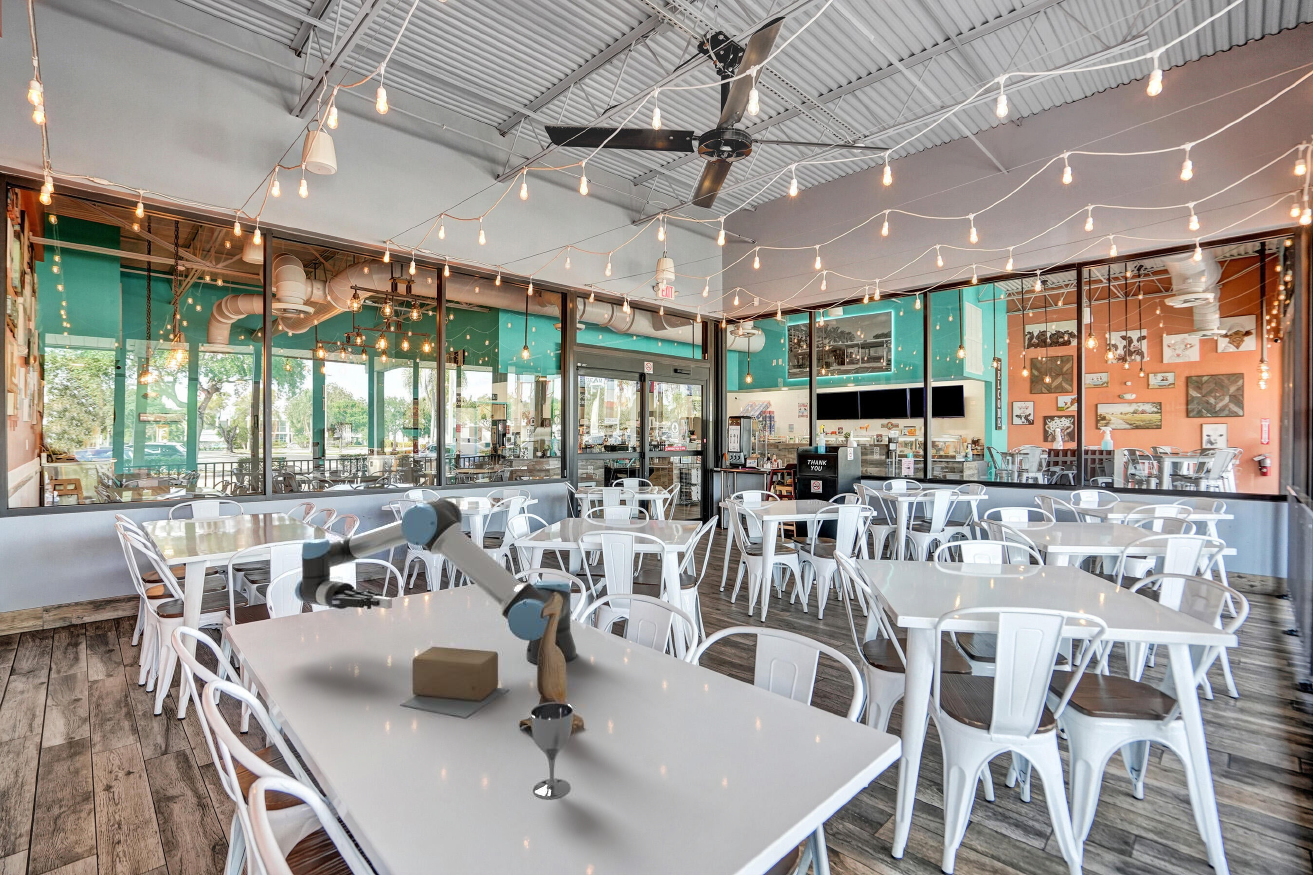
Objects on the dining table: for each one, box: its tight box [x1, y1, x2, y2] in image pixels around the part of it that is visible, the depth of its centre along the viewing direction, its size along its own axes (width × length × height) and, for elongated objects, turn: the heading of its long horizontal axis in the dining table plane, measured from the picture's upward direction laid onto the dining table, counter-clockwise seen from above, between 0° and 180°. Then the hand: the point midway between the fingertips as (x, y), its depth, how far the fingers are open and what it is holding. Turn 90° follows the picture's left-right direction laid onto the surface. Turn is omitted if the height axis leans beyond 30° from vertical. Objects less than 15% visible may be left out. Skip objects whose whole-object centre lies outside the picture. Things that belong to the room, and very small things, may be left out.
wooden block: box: [412, 646, 499, 701], centre depth 166 cm, size 10×10×20 cm
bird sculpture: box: [518, 592, 585, 734], centre depth 145 cm, size 11×12×32 cm
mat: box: [399, 686, 510, 719], centre depth 163 cm, size 20×18×1 cm
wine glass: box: [530, 702, 574, 800], centre depth 121 cm, size 8×8×15 cm
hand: (389, 603), depth 177 cm, fingers closed
